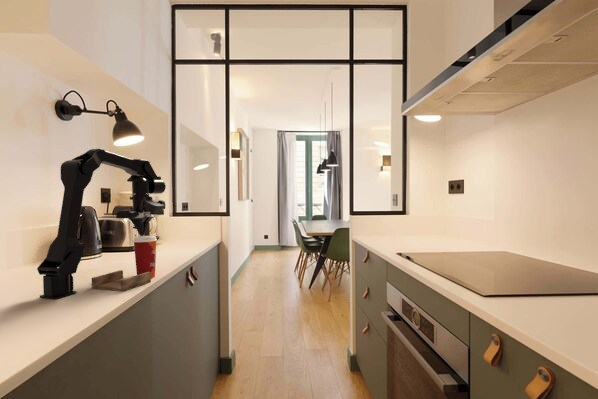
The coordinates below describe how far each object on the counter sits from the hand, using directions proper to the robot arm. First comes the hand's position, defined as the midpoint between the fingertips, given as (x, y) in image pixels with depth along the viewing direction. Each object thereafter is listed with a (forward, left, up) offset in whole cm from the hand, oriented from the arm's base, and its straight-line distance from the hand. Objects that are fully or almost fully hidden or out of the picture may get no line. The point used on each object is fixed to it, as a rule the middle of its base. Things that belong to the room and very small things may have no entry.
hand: (142, 235), depth 130 cm
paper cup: (-8, -8, -13) cm, 18 cm away
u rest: (-18, -8, -13) cm, 24 cm away
